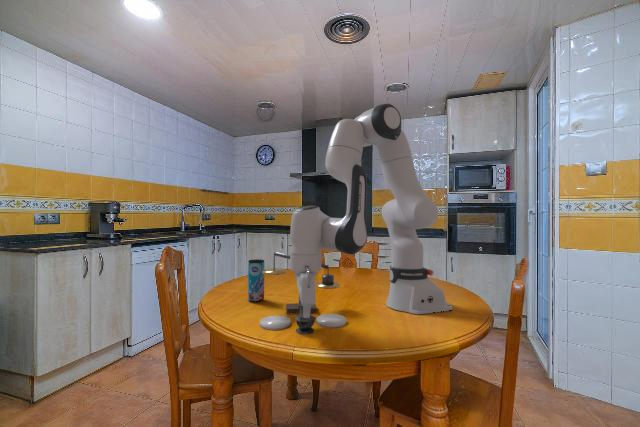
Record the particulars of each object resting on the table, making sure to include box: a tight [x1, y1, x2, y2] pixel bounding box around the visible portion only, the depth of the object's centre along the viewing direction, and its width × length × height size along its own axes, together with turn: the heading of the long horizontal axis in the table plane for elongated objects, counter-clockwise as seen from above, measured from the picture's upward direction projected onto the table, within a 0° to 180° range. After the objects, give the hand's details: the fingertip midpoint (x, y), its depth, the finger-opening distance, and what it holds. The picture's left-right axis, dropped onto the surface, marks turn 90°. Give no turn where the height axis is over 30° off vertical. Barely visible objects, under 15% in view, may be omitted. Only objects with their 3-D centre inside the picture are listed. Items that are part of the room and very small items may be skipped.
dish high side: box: [259, 315, 291, 331], centre depth 91 cm, size 9×9×1 cm
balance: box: [262, 251, 340, 315], centre depth 104 cm, size 26×8×20 cm, turn 97°
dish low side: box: [316, 313, 347, 328], centre depth 94 cm, size 9×9×1 cm
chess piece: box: [294, 301, 317, 336], centre depth 86 cm, size 6×6×12 cm
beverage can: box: [247, 259, 265, 303], centre depth 115 cm, size 6×6×15 cm
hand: (305, 312), depth 87 cm, fingers open, 7 cm apart
